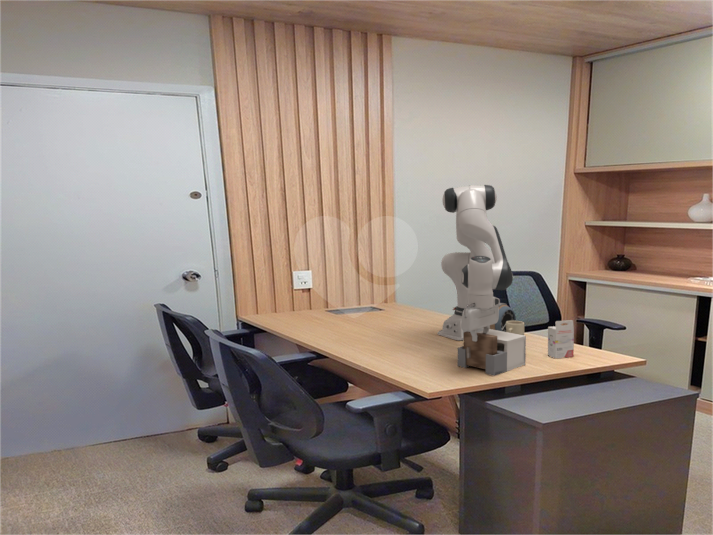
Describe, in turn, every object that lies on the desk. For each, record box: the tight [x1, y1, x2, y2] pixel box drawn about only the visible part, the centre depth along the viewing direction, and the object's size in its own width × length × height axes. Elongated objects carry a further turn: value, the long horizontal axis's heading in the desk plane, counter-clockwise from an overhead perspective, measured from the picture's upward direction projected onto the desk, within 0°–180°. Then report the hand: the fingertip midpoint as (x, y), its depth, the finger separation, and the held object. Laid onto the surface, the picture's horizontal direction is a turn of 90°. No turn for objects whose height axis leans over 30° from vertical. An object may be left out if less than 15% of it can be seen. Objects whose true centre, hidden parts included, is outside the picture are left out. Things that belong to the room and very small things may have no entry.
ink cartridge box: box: [547, 319, 575, 359], centre depth 200 cm, size 9×5×15 cm, turn 105°
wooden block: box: [462, 331, 497, 370], centre depth 184 cm, size 12×4×12 cm, turn 46°
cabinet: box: [457, 329, 527, 377], centre depth 189 cm, size 16×20×11 cm
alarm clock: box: [490, 302, 517, 332], centre depth 222 cm, size 14×10×18 cm
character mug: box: [506, 320, 525, 335], centre depth 204 cm, size 11×7×13 cm, turn 138°
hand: (480, 339), depth 184 cm, fingers open, 5 cm apart
